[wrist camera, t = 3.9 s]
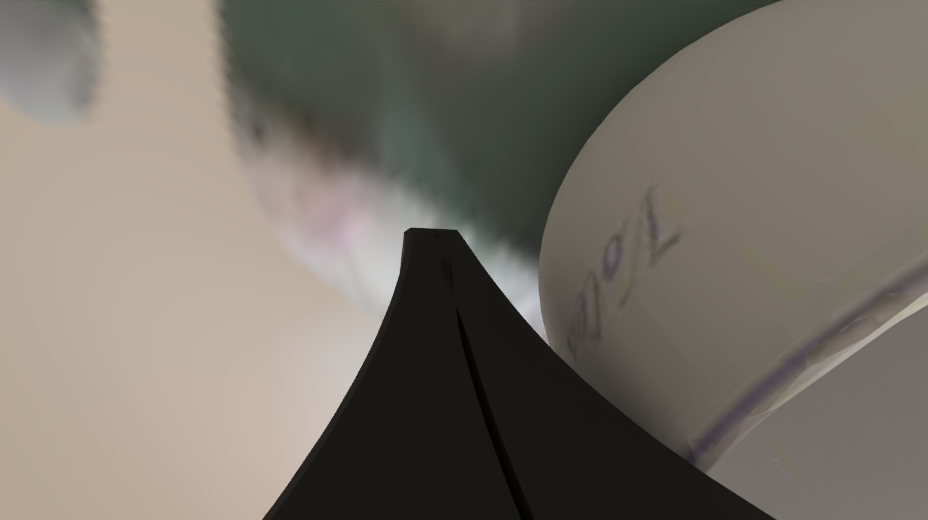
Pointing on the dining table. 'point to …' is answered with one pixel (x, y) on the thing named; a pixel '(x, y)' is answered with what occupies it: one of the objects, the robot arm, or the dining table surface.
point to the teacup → (763, 258)
